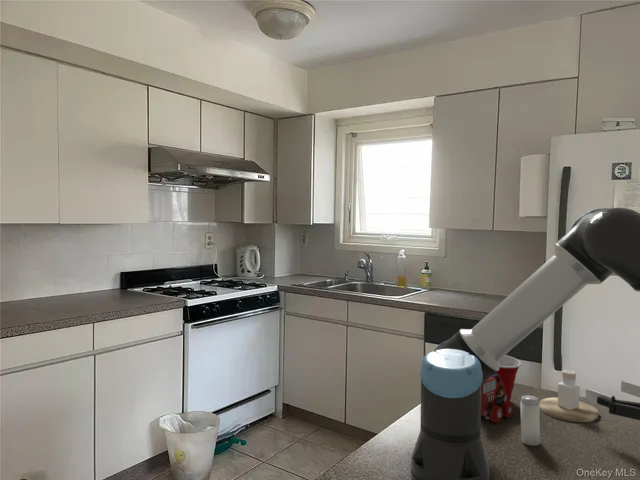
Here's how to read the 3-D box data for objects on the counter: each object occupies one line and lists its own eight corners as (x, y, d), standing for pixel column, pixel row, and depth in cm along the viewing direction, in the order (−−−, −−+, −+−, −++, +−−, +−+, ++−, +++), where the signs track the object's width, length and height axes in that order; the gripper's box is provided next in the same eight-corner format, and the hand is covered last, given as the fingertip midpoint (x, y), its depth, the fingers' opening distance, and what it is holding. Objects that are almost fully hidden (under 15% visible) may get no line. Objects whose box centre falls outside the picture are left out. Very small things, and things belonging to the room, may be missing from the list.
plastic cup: (508, 411, 126) (509, 366, 125) (471, 399, 134) (472, 357, 134) (527, 401, 133) (528, 358, 132) (491, 390, 141) (492, 350, 141)
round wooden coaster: (599, 426, 117) (599, 422, 117) (536, 415, 123) (536, 411, 123) (597, 407, 129) (597, 403, 129) (541, 397, 136) (541, 393, 136)
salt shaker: (538, 447, 106) (537, 402, 106) (519, 442, 108) (518, 399, 108) (541, 440, 109) (541, 397, 109) (523, 436, 111) (522, 394, 111)
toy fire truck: (517, 414, 124) (518, 374, 124) (492, 427, 116) (492, 385, 116) (492, 406, 130) (493, 368, 129) (467, 418, 122) (467, 378, 121)
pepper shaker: (570, 411, 123) (571, 375, 123) (556, 405, 127) (557, 370, 127) (580, 408, 125) (581, 372, 125) (566, 403, 129) (567, 368, 128)
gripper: (670, 454, 93) (570, 413, 112) (735, 430, 104) (635, 396, 123) (671, 416, 92) (571, 382, 111) (737, 396, 103) (636, 368, 122)
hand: (604, 389), depth 117 cm, fingers open, 13 cm apart
